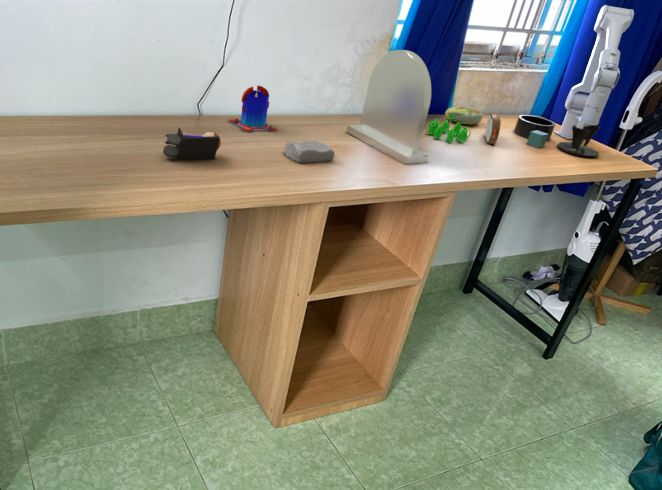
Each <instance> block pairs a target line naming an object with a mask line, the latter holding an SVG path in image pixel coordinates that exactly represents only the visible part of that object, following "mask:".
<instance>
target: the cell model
mask: <svg viewBox="0 0 662 490" xmlns="http://www.w3.org/2000/svg"><path fill="white" fill-rule="evenodd" d="M444 115H445V117H446V119H447V120H448V121H450V118H448V116H454V117H455V119H452V120H451V122H455V123H456V124H457V123H460V124H461V125H476V124H478V123H480V122H481V121H482V120H483V117H484V114H483V112H482V111H481V110H479V109H476V108H474V107H471V106H470V107H469V106H454V107H453V106H452V107H449V108H448V109H446V111H445V112H444Z"/></svg>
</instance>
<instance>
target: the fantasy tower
mask: <svg viewBox="0 0 662 490" xmlns="http://www.w3.org/2000/svg"><path fill="white" fill-rule="evenodd" d="M269 98H270V93H269V91H268V89H267V88H265V87H264V86H262V85H256V89H255V90H254V86H253V85H252V86H250V87H248V88H247V89H246V90H245V91H243V94H242V96H241V101H240V102H241V103H242V106H241V115H240V120H239V118H237V117H235V118H232V119H231V120H230V121H229V123H231V124H235V125H236V126H238V127H240V128H241V131H242V132H245V133H253V132H262V131H263V132H264V131H268V132H276V131H277V130H278V129H277V127H276V126H273V125H268V123H267V118H268V116H267V115H268V109H269V107H270V101H269V100H270V99H269Z"/></svg>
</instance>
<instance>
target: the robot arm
mask: <svg viewBox="0 0 662 490" xmlns="http://www.w3.org/2000/svg"><path fill="white" fill-rule="evenodd" d="M634 15H635V12H634V9H632V8H631V9H630V8H629V9H628V8H623V7H617V6H611V5H607V4H604V5H603V6H602V7H601V8H600V10H599V13H598V15H597V18H596V22H595V24H594V28H593V31H594V32H595V33H597V34H596V40H595V44H594V45H593V49H592V52H591V55H590V57H589V60H588V64H587V66H586V69H585V72H584V74H583V78H582V80H581V82H580V83H578V84H576V85H574V86H572V87H571V89H570V90H569V93H568V95H567V97H566V100H565V104H564V107H565V109H566V110H567V111H566V114H565V116H564V119H563V121H562V124H561V126H560V129H559V130H553V133H555V134H557V135H559V136H560V137H562V138H564V139H566V140H571V143H572V146H571V148H574V149H578V148H579V147H580V145H581V143H582V141H583V140H584V139H586V141H585V143H584V146H588V144H589V143H590V141H591V140H592V138H593V137H594V135H596V133H597V132H598V131H599V130H600V129H601V126H600V125H599V123H600V119H601V117H602V114H603V111H604V109H605V107H606V104H607V102H608V100H609V97H610V94H611V93H612V90H614V89H615V87H616V86H617V84H618V81H619V79H620V75H621V71H620V68H619V64H620V58H621V51H620V50H619V49H618V48H619V45H620V43H621V38H622V34H623V33H624V32H627V29H629V27H630V26H631V24H632V22H633V19H634Z"/></svg>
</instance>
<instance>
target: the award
mask: <svg viewBox="0 0 662 490" xmlns="http://www.w3.org/2000/svg"><path fill="white" fill-rule="evenodd" d="M431 81H432V80H431V76H430V72H429V70H428V67H427V65H426V64H425V62H424V61H423V59H422V58H421V57H420V56H419V55H418V54H417V53H415V52H414V51H411V50H407V49H395V50H390V51H388V52H387V53H385V54H384V55H382V57H380V59H379V60H378V61H377V62H376V64H375V65H374V67H373V69H372V72H371V73H370V77H369V80H368V84H367V88H366V89H367V90H366V93H365V98H364V99H365V100H364V104H363V109H362V114H361V119H360V124H349V125H347V128H346V133H347V134H349V135H351V136H352V137H355V138H356V139H358V140H360V141H363V143H366V144H368V145H369V146H371V147H373V148H374V149H376V150H378V151H379V152H382V153H384V154H386V155H387V156H389V157H391V158H392V159H395V160H396V161H398V162H400V163H402V164H404V165H413V164H423V163H427V162H428V158H429V155H428V153H425V152H423V151H421V150H419V148H420V145H421V141H422V137H423V133H424V129H425V127H426V121H427V117H428V113H429V110H430V106H431V100H432V82H431Z"/></svg>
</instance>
